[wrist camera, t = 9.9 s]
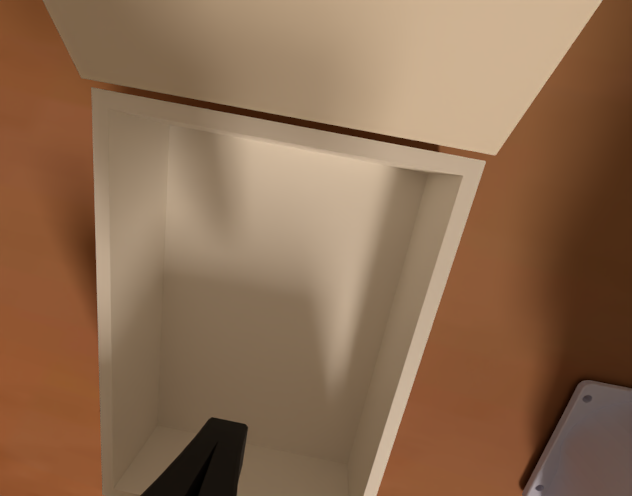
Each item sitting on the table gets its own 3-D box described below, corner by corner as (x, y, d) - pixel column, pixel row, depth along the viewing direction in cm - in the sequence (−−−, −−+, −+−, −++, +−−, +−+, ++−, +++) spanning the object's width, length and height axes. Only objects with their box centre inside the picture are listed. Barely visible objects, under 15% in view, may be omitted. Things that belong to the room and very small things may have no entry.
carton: (353, 465, 20) (358, 548, 15) (153, 424, 20) (102, 494, 16) (440, 163, 14) (486, 161, 10) (163, 111, 15) (91, 87, 10)
